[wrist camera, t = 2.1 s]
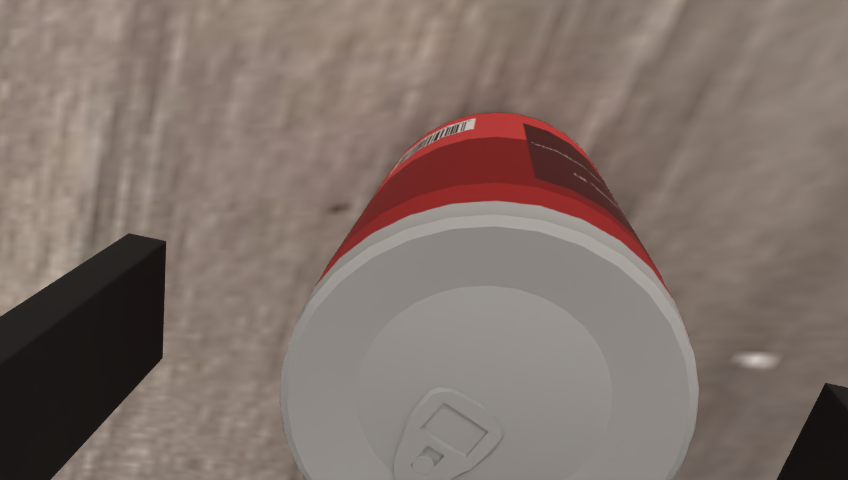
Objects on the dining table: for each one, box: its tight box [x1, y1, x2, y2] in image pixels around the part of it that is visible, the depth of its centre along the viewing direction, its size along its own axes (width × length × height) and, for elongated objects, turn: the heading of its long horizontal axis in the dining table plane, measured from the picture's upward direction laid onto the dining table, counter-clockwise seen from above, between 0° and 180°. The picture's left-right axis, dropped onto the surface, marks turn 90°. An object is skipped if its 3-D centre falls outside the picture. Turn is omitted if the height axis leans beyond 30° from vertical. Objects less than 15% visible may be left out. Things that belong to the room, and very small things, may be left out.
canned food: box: [280, 112, 699, 480], centre depth 17 cm, size 8×8×11 cm
